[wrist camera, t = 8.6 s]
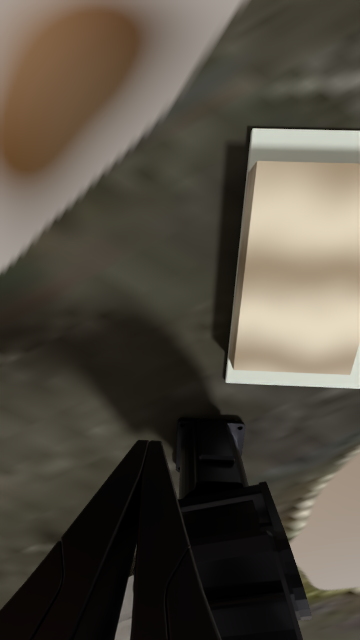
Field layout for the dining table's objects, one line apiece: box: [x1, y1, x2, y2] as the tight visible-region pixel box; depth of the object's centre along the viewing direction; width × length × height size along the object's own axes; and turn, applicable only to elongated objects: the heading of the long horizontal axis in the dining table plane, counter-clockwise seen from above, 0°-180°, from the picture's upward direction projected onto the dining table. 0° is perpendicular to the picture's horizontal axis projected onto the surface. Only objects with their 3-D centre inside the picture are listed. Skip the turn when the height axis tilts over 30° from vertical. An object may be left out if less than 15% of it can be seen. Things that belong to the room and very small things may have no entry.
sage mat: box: [225, 128, 360, 389], centre depth 17 cm, size 19×19×1 cm
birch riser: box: [229, 161, 360, 375], centre depth 17 cm, size 14×9×2 cm, turn 178°
